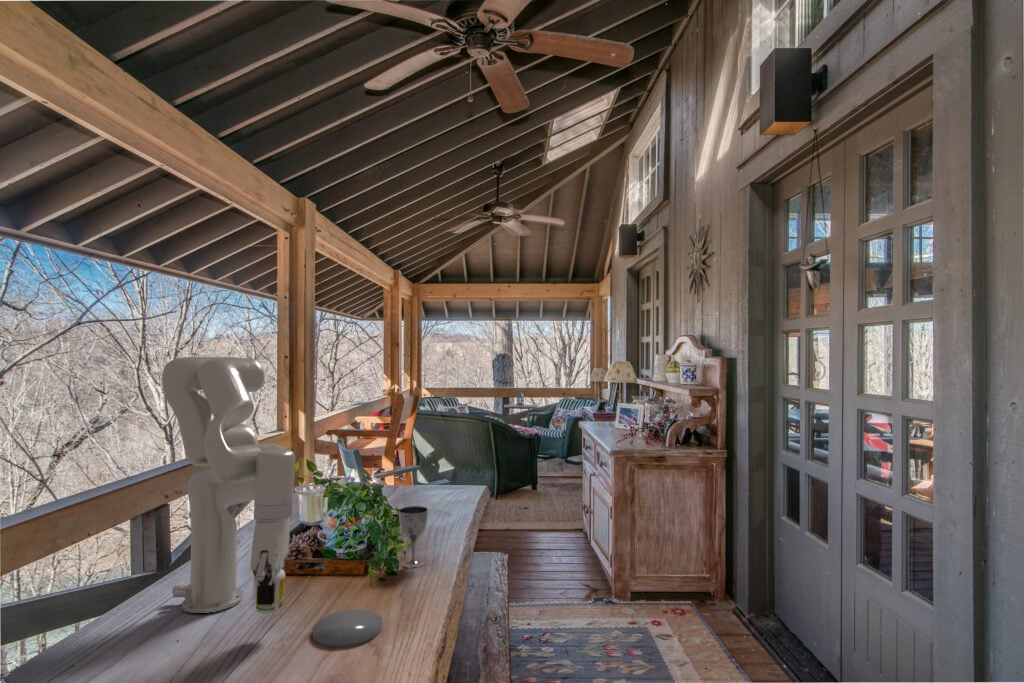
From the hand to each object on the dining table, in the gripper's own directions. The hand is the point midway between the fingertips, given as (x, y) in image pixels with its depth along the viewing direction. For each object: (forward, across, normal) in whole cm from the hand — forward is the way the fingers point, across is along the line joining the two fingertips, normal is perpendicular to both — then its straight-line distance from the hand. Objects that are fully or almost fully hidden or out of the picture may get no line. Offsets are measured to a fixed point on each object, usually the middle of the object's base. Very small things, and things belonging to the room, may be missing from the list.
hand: (270, 596), depth 113 cm
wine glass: (+8, -37, +27) cm, 47 cm away
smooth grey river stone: (+7, 0, +16) cm, 18 cm away
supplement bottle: (+3, 0, 0) cm, 3 cm away
